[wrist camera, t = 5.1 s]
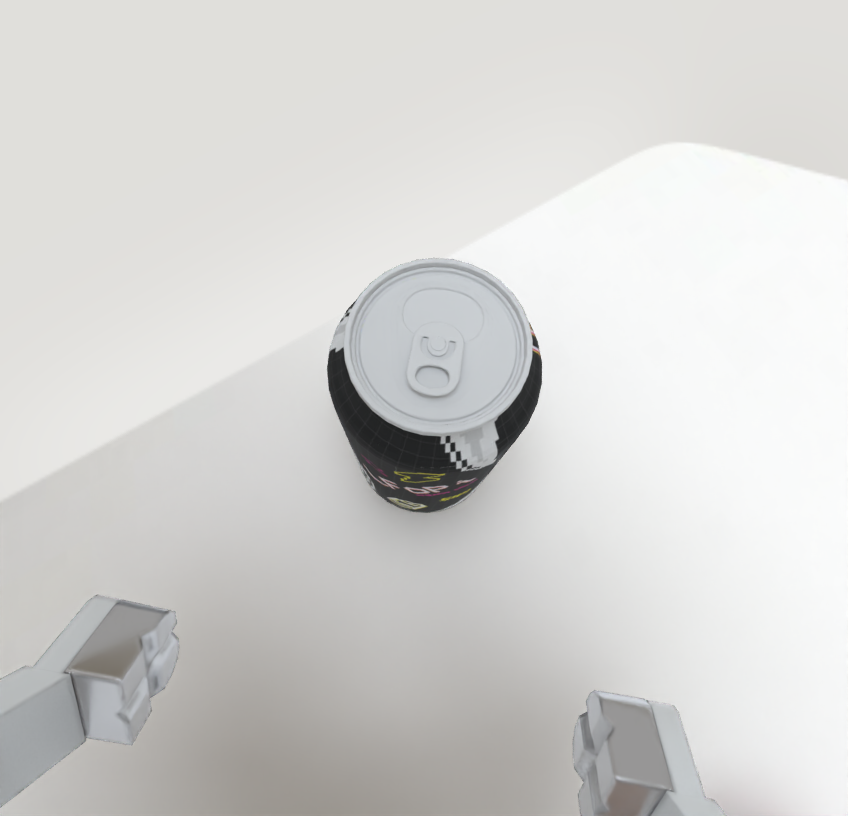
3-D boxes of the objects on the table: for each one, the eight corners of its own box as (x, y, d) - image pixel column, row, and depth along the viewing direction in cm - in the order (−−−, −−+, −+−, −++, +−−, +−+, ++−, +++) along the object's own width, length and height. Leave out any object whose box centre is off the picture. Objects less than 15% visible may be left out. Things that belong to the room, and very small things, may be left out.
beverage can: (346, 502, 24) (291, 435, 13) (372, 377, 26) (344, 217, 14) (479, 525, 24) (546, 479, 12) (496, 398, 26) (570, 254, 14)
